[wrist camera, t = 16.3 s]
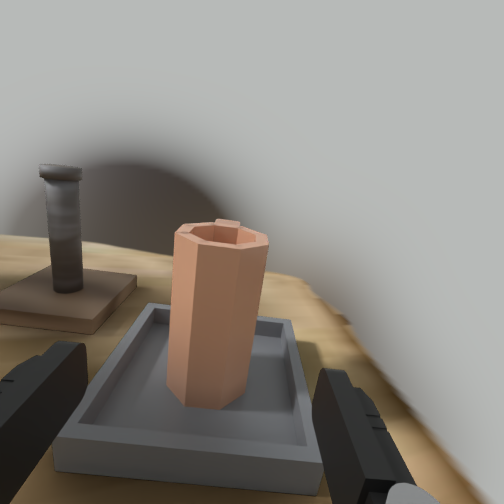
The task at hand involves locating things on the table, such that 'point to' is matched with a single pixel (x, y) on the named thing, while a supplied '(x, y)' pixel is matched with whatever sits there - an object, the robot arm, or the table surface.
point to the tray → (195, 418)
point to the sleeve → (214, 311)
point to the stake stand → (64, 270)
